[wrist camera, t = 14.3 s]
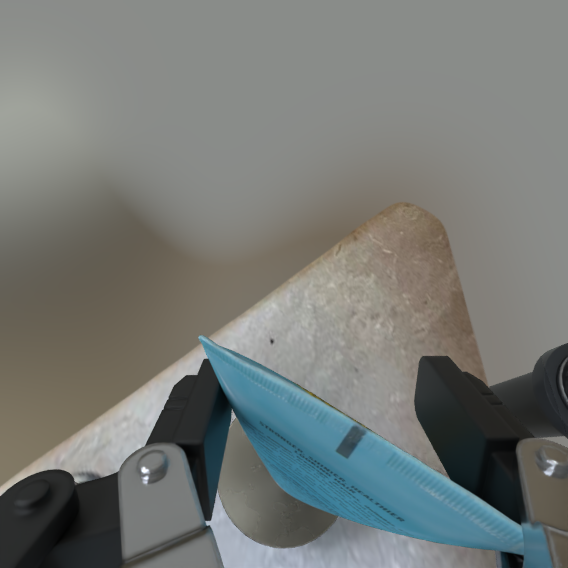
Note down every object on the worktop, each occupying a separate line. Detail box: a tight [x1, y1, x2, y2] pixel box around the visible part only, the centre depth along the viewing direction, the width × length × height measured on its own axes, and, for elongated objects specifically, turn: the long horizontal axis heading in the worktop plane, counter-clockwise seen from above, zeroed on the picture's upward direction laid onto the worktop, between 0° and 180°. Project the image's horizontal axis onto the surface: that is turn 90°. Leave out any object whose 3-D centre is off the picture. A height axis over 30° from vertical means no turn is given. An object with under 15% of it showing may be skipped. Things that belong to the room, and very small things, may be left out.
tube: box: [199, 335, 524, 555], centre depth 15 cm, size 7×5×19 cm, turn 64°
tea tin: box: [218, 418, 338, 548], centre depth 33 cm, size 11×11×8 cm
